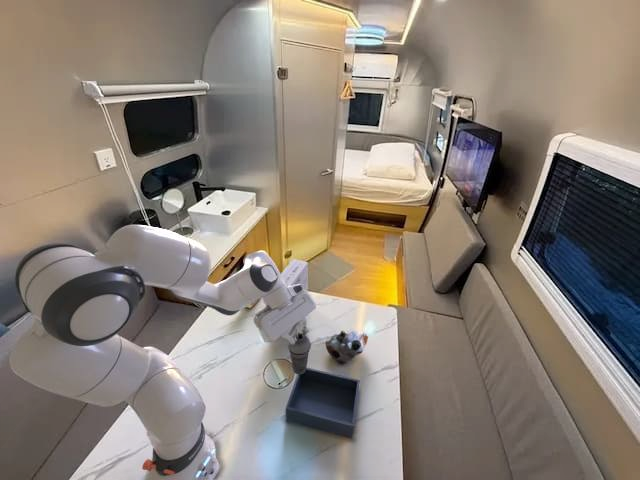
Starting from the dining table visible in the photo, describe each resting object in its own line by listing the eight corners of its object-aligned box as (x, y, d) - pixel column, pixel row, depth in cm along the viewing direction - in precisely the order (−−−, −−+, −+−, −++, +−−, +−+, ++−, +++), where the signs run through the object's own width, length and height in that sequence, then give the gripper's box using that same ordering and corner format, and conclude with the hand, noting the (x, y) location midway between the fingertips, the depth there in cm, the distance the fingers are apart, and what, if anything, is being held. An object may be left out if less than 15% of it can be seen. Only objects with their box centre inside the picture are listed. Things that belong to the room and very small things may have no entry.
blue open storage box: (352, 439, 85) (354, 427, 82) (286, 420, 89) (285, 408, 86) (357, 392, 98) (359, 379, 95) (300, 377, 102) (300, 365, 99)
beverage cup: (307, 380, 89) (308, 337, 79) (285, 376, 90) (284, 333, 80) (312, 361, 95) (313, 319, 85) (292, 357, 96) (291, 315, 86)
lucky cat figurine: (343, 332, 122) (361, 316, 114) (358, 357, 116) (378, 342, 109) (319, 343, 111) (337, 325, 104) (335, 371, 105) (355, 354, 98)
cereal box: (288, 335, 120) (286, 290, 107) (273, 329, 122) (270, 285, 110) (307, 303, 137) (308, 262, 125) (294, 299, 140) (293, 258, 127)
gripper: (255, 314, 76) (280, 358, 75) (306, 281, 90) (327, 318, 89) (247, 318, 81) (270, 359, 80) (296, 286, 94) (316, 321, 93)
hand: (300, 337), depth 84 cm, fingers closed on beverage cup, 4 cm apart
